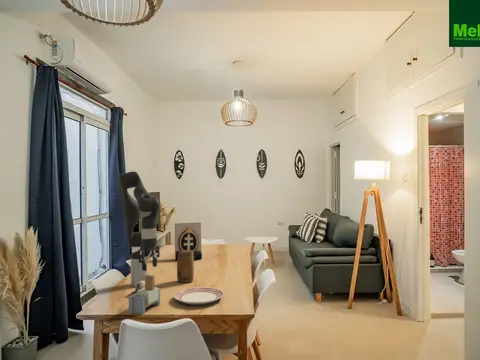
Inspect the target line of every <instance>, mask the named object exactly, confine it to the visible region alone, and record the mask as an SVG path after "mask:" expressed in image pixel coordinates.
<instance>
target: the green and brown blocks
mask: <svg viewBox="0 0 480 360" xmlns="http://www.w3.org/2000/svg"><path fill="white" fill-rule="evenodd" d="M155 283H156V282H155V275H150V274H147V275H146V276H145V287H144V288H142V289H140V290H138V291H137V296H141V297H145V304H150V303H152V302H154V301H156V300H158V289H159V287H156V286H155Z"/></svg>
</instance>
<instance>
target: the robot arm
mask: <svg viewBox="0 0 480 360" xmlns="http://www.w3.org/2000/svg"><path fill="white" fill-rule="evenodd" d="M118 183H119V187H120V192H121V197H122V205H123V213H124V217H125V223H126V225H125V226H126V235H127V244H128V246H129V247H130V248H139V249H138V250H136V251H133V252H132V253H130V286H131V287H133V288H135V287H136V286H137V284H138V283H139V282H140V281H145V276H146V275H148V272H147V271H148V270H147V264H148V263H147V261H148V260H149V259H150V258H152V267H153V268H154V267H157V266H158V258H160V256H161V255H160V254H161V253H160V246H159V245H158V235H157V233H158V232H157V218H158V213H159V208H160V201H159V199H158V198H157V197H151V195H150V193H149V191H148V190H147V189H146V188H145V186H144V183H143V181H142V179H141V177H140V175H139V174H138V172H137V171H135V170H133V171H127V172H124V173H120V174H119V175H118ZM133 188H134V189H133ZM128 189H133V196H134V197H133V196H131V194H130V193H129V192H128ZM141 212H142V213H147V212H148V213H149V215H145V216H143V217H142V218H141ZM140 218H141V231H135V232H134V229H135V227H136V225H137V224H138V222H139V220H140Z"/></svg>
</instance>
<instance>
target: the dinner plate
mask: <svg viewBox="0 0 480 360" xmlns="http://www.w3.org/2000/svg"><path fill="white" fill-rule="evenodd" d="M224 295H225V293H224V291H223V290H221V289H218V288H214V287H203V286H202V287H199V286H198V287H190V288H184V289H181V290H179V291H176V292H175V293H174V294H173V298H174V299H175V300H177V301H178V302H180V303H184V304H187V305H191V306H192V305H193V306H200V305H208V304H211V303H213V302H216V301H218V300H220V299H221V298H222V297H223V296H224Z"/></svg>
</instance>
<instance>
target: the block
mask: <svg viewBox="0 0 480 360" xmlns="http://www.w3.org/2000/svg"><path fill="white" fill-rule="evenodd" d="M194 273H195V260H194V255H193V251H192V250H182V251H180V252H179V254H178V259H177V261H176V279H177V282H179V283H180V282H181V283H192V282H193V281H194Z"/></svg>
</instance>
